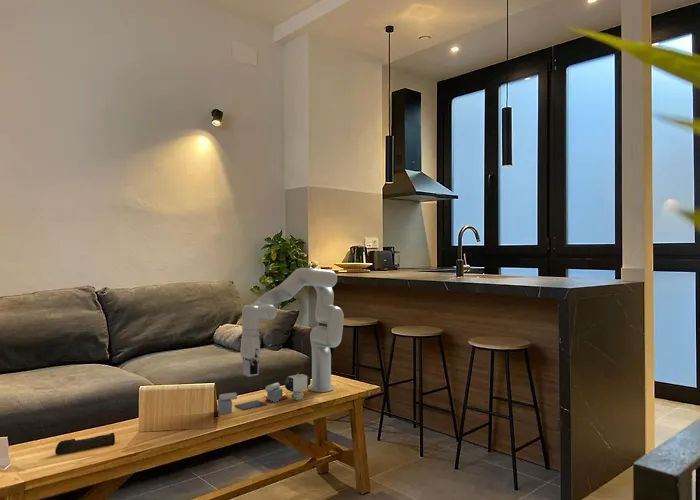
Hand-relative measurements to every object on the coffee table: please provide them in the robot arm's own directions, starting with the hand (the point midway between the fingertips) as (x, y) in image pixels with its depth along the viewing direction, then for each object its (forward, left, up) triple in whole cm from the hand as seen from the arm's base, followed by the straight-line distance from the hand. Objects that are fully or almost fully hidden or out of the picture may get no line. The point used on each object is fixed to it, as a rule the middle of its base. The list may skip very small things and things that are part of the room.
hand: (250, 372), depth 238 cm
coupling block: (0, 0, -1) cm, 1 cm away
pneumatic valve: (-12, +19, -15) cm, 27 cm away
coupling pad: (0, 0, -15) cm, 15 cm away
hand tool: (+55, -44, -15) cm, 72 cm away
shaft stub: (+9, -8, -15) cm, 19 cm away
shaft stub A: (-8, +8, -15) cm, 19 cm away
